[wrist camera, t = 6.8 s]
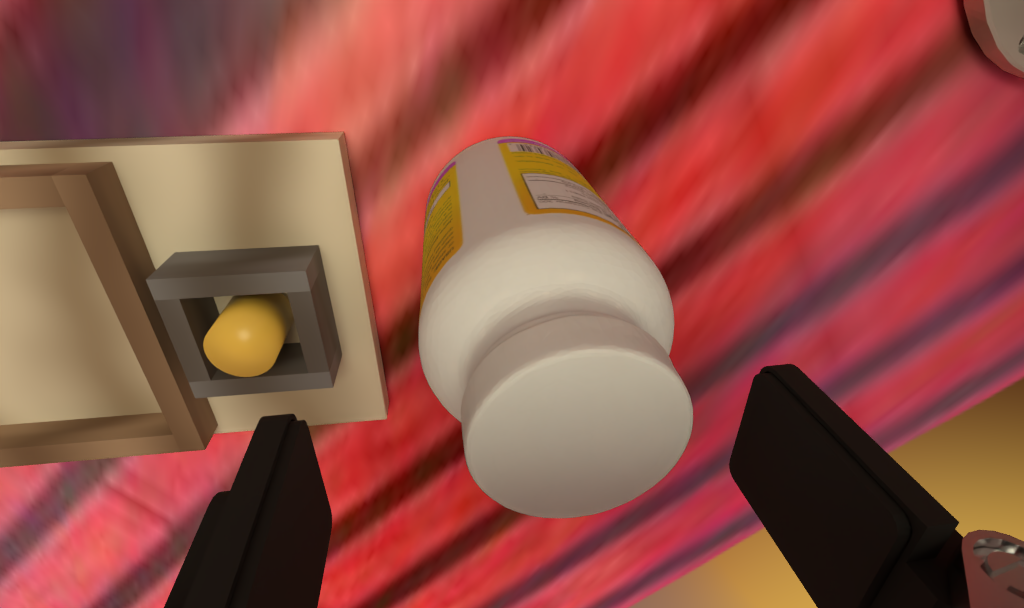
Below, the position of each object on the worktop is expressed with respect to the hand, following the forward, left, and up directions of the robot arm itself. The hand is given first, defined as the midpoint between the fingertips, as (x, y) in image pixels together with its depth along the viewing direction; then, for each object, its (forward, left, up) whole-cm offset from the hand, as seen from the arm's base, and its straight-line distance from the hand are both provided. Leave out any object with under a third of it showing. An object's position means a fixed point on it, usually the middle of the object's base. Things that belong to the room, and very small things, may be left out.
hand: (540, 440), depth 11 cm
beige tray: (+15, +3, -12) cm, 20 cm away
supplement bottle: (-1, 0, -13) cm, 13 cm away
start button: (+9, +3, -11) cm, 14 cm away
